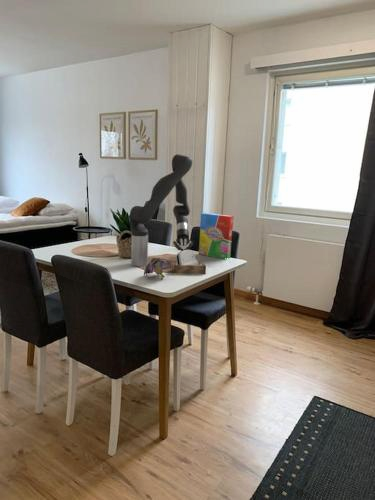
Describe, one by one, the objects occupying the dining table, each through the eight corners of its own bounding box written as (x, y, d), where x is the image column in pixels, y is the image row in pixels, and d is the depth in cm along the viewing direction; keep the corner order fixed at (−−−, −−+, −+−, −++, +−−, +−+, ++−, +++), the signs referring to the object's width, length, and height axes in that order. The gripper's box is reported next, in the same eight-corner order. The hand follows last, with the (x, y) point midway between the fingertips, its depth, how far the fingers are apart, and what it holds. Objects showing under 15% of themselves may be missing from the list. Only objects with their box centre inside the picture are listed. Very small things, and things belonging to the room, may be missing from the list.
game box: (198, 254, 243) (200, 213, 237) (202, 252, 248) (204, 212, 242) (227, 259, 233) (230, 216, 227) (230, 257, 238) (233, 215, 232)
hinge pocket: (174, 273, 197) (174, 265, 196) (173, 269, 204) (173, 261, 203) (205, 273, 199) (206, 265, 198) (203, 270, 206) (204, 262, 205)
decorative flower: (164, 254, 196) (169, 252, 182) (171, 275, 196) (177, 275, 182) (138, 263, 193) (141, 261, 178) (145, 284, 193) (149, 284, 178)
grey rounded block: (184, 269, 206) (179, 251, 206) (177, 270, 208) (173, 253, 208) (199, 263, 220) (194, 247, 220) (192, 264, 223) (188, 248, 222)
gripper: (172, 227, 225) (173, 252, 215) (193, 228, 226) (195, 252, 217) (171, 234, 231) (172, 258, 222) (192, 235, 233) (194, 259, 223)
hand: (183, 255), depth 219 cm, fingers closed
